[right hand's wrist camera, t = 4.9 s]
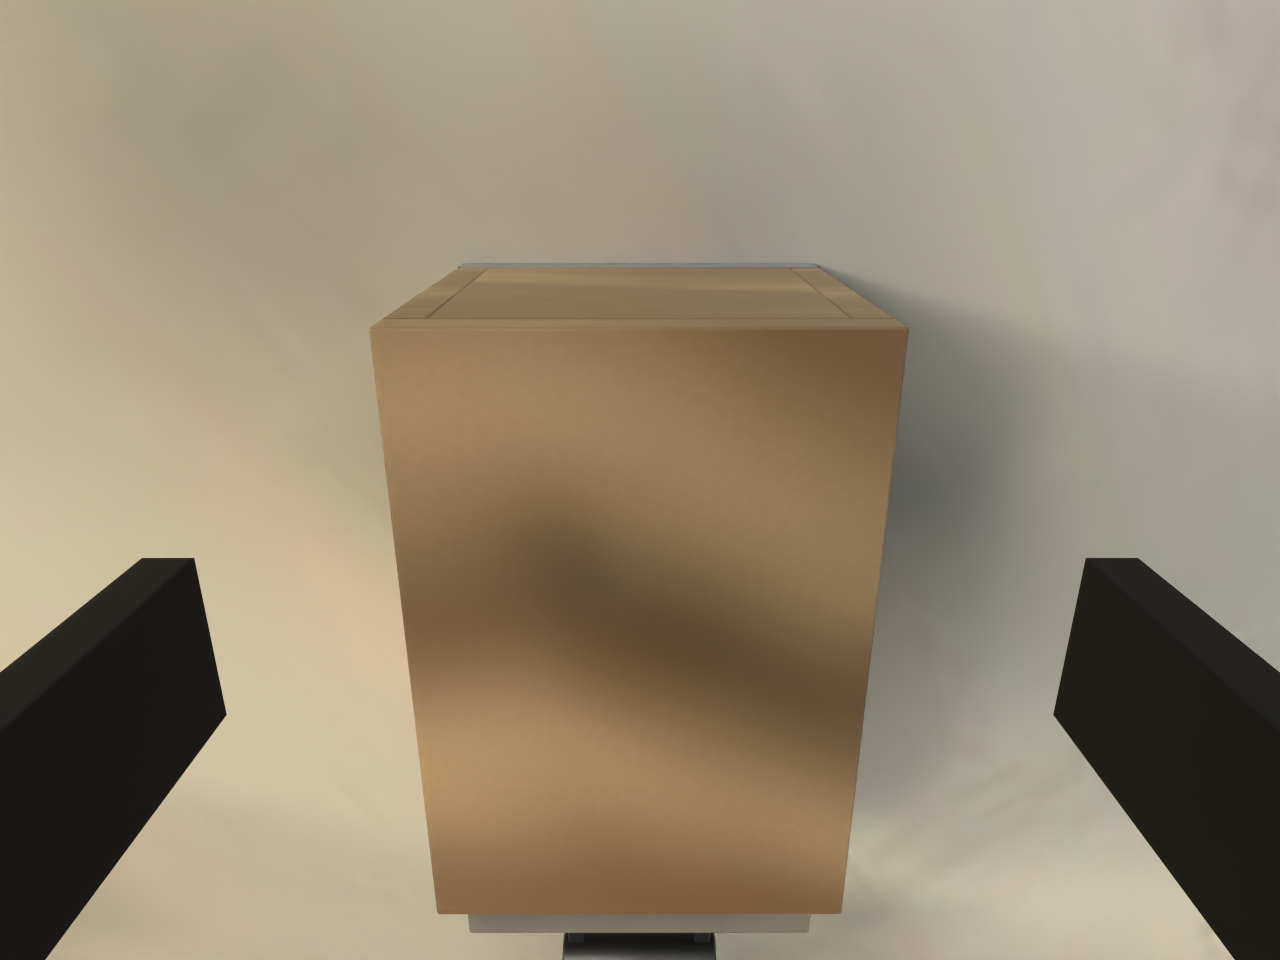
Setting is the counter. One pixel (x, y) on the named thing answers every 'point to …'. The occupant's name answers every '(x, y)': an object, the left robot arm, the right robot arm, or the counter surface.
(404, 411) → the cabinet
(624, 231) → the counter surface
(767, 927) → the drawer
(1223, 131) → the counter surface
